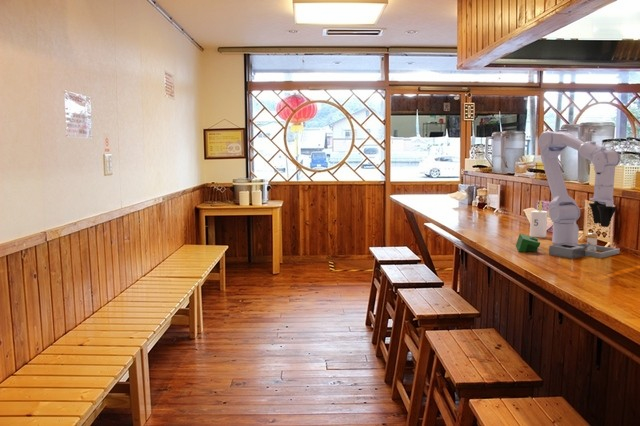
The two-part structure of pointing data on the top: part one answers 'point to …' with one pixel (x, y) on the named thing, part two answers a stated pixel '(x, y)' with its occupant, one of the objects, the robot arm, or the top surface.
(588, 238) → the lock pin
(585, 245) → the tray
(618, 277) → the top surface
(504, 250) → the top surface
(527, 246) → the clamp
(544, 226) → the candle
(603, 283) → the top surface
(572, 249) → the block
